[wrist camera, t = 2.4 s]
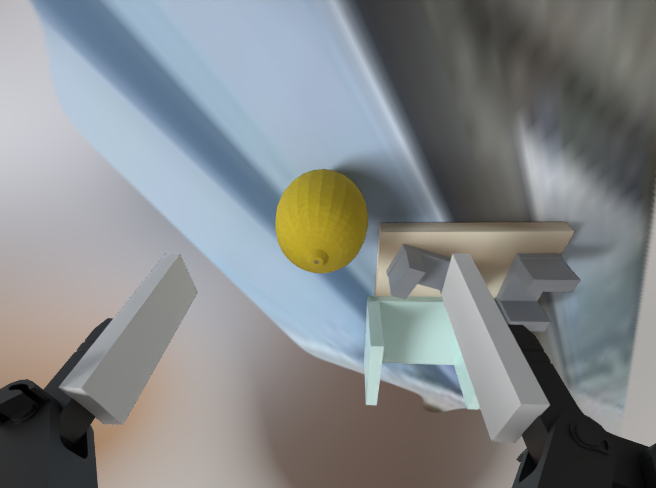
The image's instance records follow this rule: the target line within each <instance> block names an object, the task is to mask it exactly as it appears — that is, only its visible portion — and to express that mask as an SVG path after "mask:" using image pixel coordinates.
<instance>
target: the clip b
mask: <svg viewBox="0 0 656 488" xmlns="http://www.w3.org/2000/svg"><path fill="white" fill-rule="evenodd" d="M579 282H580V279H579V278H578V276H577V275H576V274H575V273H574V272H573V271H572V270H571V268H570V267H569V266H568V265H567V264H566V263H565V262H564V261H563V258H562V257H561V255H560V254H559V253H516V255H515V257H514V260H513V262H512V264H511V266H510V268H509V270H508V272H507V275H506V277H505V279H504V281H503V283H502V285H501V288H500V290H499V292H498V294H497V296H496V298H495V302H496V304H497V306H498V308H499V310H500V312H501V314H502V315H503V317H504V319H505V321H506V323H507V324H513V325H524V326H525V327H526V328H527V329H528V330H529V331H545V330H546V329H547V328H548V326H549V325H550V323H551V321H550V319H549V318H548V316H547V315H546V313H545V312H544V310H543V309H542V307H541V306H540V304H539V303H538V299H539V298H540V296H541V294H542V293H543V292H573V290H574V289H575V287H576V286H577V284H578V283H579Z"/></svg>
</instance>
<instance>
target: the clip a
mask: <svg viewBox="0 0 656 488" xmlns="http://www.w3.org/2000/svg"><path fill="white" fill-rule="evenodd" d="M450 261H451V257H447V256H444V255H440V254H437V253H434V252H430V251H427V250H423V249H420V248H417V247H413V246H410V245H406V244H402V246H401V247H400V249H399V250H398V252H397V254H396V255H395V257H394V259H393V260H392V262H391V264H390V265H389V267H388V268H387V270H386V272H387V276H388V279H389V285H390V292H391V296H394V297H398V298H402V299H405V300H406V299H407V297H408V296H409V295H410V293H411V292H412V290H413V289H414V288H415V286H416V285H417V284H419V285H423V286H427V287H430V288H434V289H438V290H440V293H442V290H443V286H444V282H445V279H446V275H447V272H448V268H449V264H450Z"/></svg>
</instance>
